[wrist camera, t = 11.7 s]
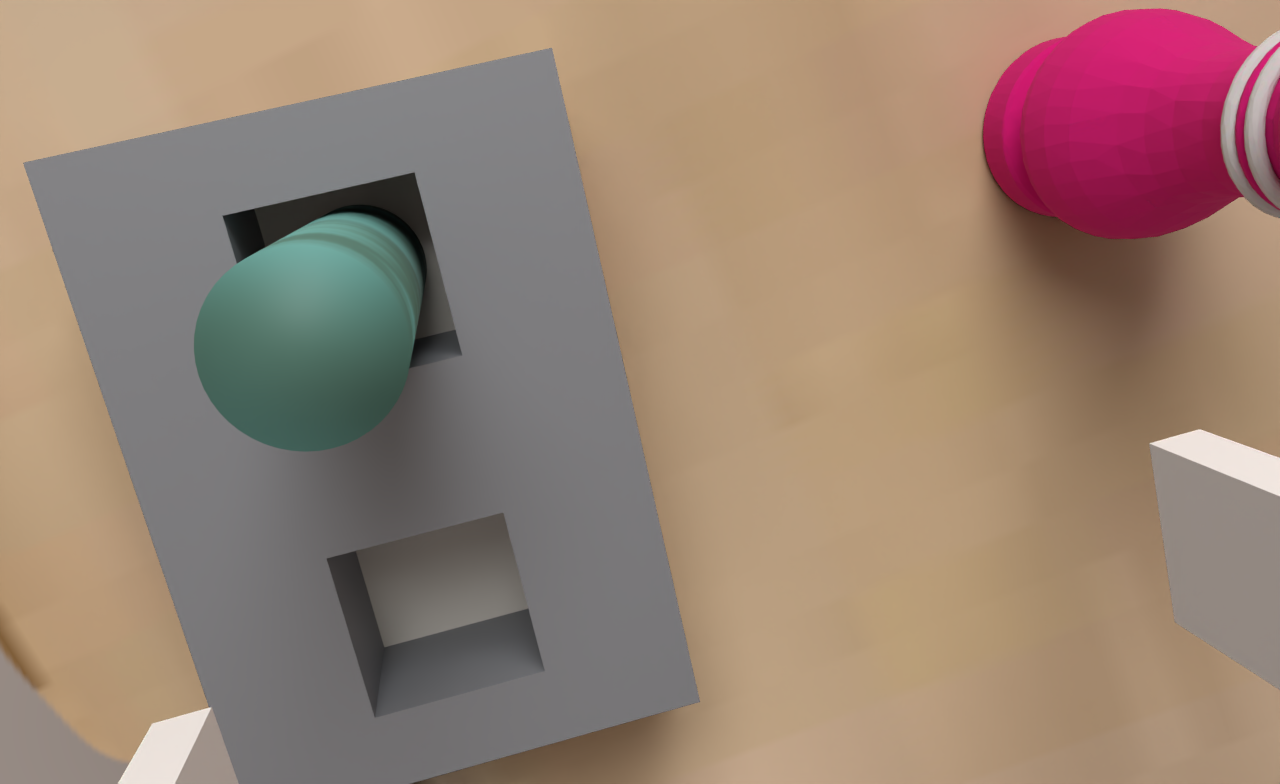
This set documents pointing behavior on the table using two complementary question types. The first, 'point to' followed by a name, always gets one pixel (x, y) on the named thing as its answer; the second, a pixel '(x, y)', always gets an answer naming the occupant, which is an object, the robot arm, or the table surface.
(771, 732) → the table surface
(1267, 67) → the pepper mill
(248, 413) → the pin
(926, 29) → the table surface
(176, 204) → the hole block
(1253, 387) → the table surface
